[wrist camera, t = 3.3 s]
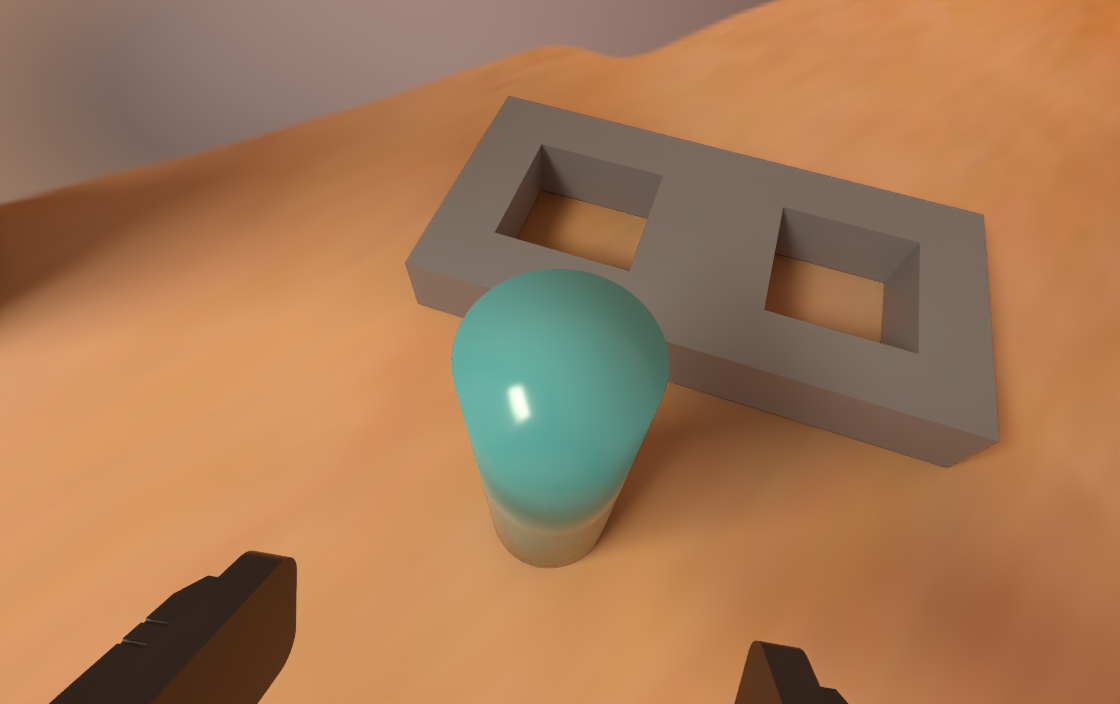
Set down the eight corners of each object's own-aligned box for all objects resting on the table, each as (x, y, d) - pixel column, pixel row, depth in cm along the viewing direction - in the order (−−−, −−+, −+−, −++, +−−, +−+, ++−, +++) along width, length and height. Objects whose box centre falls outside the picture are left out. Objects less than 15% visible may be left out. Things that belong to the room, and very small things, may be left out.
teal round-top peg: (474, 544, 21) (413, 414, 11) (516, 440, 23) (500, 246, 13) (586, 585, 20) (637, 490, 10) (618, 474, 22) (689, 301, 12)
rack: (418, 303, 26) (405, 262, 24) (510, 142, 32) (508, 95, 30) (947, 468, 23) (999, 441, 20) (943, 256, 29) (984, 215, 26)
